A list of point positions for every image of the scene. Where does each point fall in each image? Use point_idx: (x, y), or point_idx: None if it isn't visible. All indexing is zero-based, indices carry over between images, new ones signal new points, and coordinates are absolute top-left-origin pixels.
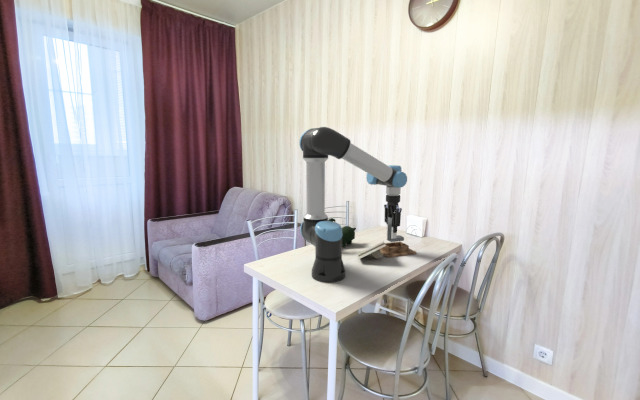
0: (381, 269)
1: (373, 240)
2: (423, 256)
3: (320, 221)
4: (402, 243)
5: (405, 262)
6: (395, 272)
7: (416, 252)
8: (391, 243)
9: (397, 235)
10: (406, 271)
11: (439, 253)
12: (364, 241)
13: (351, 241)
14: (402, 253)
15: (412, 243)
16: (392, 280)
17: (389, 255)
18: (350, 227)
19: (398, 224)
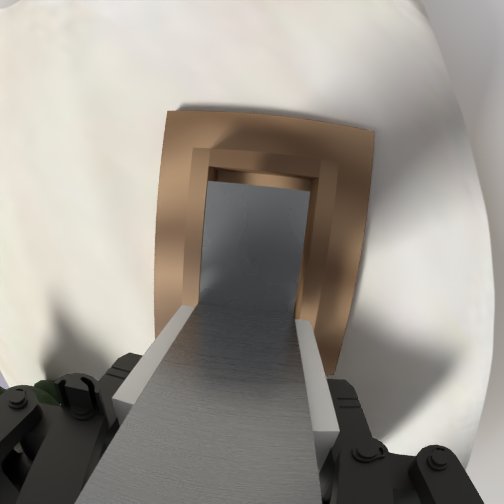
0: (412, 444)
1: (20, 229)
2: (423, 135)
3: None
4: (255, 168)
5: (438, 318)
6: (460, 412)
7: (373, 133)
8: (200, 260)
9: (205, 218)
10: (484, 372)
11: (405, 16)
12: (26, 291)
13: (55, 394)
14: (353, 255)
15: (164, 14)
16: (475, 437)
17: (336, 362)
18: (15, 446)
19: (439, 489)
